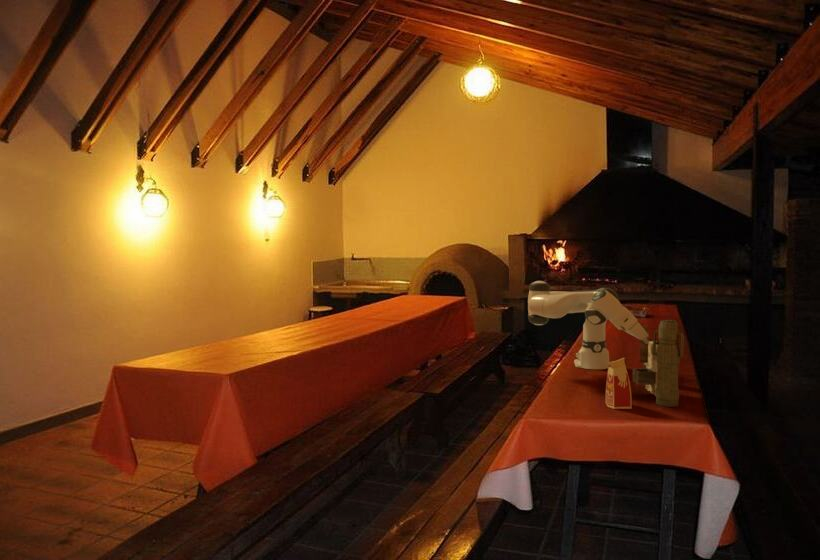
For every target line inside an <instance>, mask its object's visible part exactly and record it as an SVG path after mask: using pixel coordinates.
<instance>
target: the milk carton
mask: <svg viewBox="0 0 820 560" xmlns="http://www.w3.org/2000/svg"><path fill="white" fill-rule="evenodd" d="M607 363H608V364H609V367H608V368H607V373H606V374H607V375H606V382H605V383H606V385H605V404H606V406H607V407H608V408H611V409H614V410H620V409H623V410H625V409H627V410H629V409H631V410H632V401H633V399H632V387H631V382H630V376H629V374H628V370H627V366H626V363H625V357H622V358H619V359H617V360H612V361H609V362H607Z"/></svg>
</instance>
